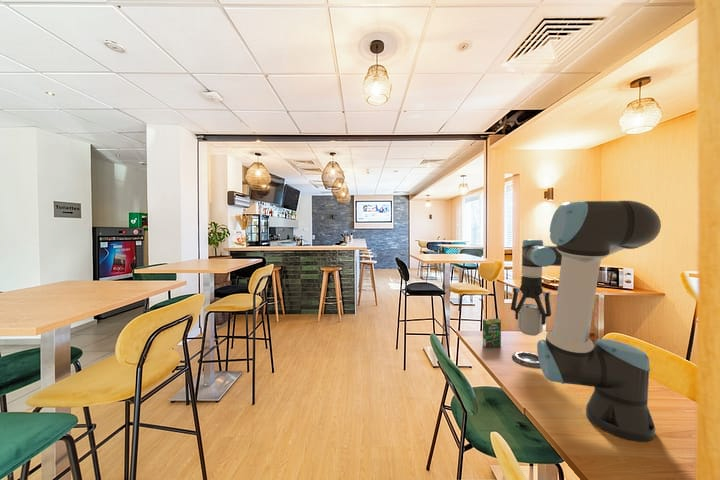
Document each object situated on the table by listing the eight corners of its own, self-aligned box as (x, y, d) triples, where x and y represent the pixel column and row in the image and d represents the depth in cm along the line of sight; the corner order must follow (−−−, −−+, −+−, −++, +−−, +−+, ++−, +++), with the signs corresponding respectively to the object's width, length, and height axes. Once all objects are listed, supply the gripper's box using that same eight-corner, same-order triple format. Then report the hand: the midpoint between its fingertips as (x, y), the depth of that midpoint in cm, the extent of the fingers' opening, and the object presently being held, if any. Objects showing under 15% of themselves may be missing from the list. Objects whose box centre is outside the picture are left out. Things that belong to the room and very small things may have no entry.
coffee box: (485, 348, 141) (485, 320, 140) (481, 345, 144) (482, 318, 143) (501, 347, 142) (501, 320, 141) (497, 345, 145) (498, 318, 144)
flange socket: (552, 369, 120) (552, 365, 120) (516, 365, 123) (516, 362, 123) (540, 355, 133) (540, 352, 133) (508, 352, 136) (508, 349, 135)
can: (524, 328, 133) (524, 302, 132) (542, 333, 127) (543, 305, 126) (516, 332, 128) (517, 304, 127) (535, 337, 122) (536, 308, 122)
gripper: (561, 277, 122) (559, 333, 123) (508, 272, 136) (507, 321, 137) (558, 280, 116) (556, 338, 118) (503, 274, 130) (501, 326, 132)
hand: (529, 329), depth 127 cm, fingers closed on can, 7 cm apart
